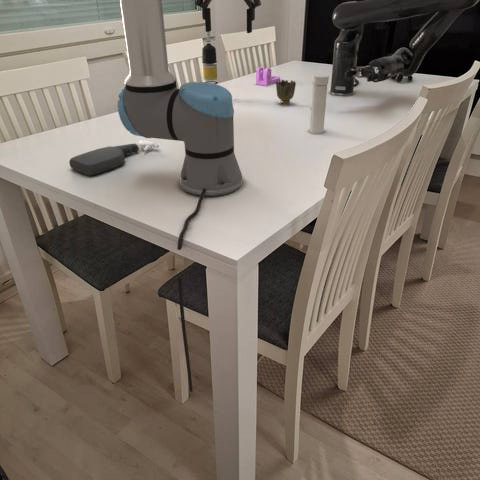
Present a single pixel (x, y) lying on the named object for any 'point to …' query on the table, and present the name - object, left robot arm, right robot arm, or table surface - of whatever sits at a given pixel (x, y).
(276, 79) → the bracket
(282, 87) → the cup
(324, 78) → the lid
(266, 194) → the table surface
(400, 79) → the squiggle
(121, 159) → the spray bottle
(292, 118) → the table surface
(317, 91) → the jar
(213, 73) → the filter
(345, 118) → the table surface
